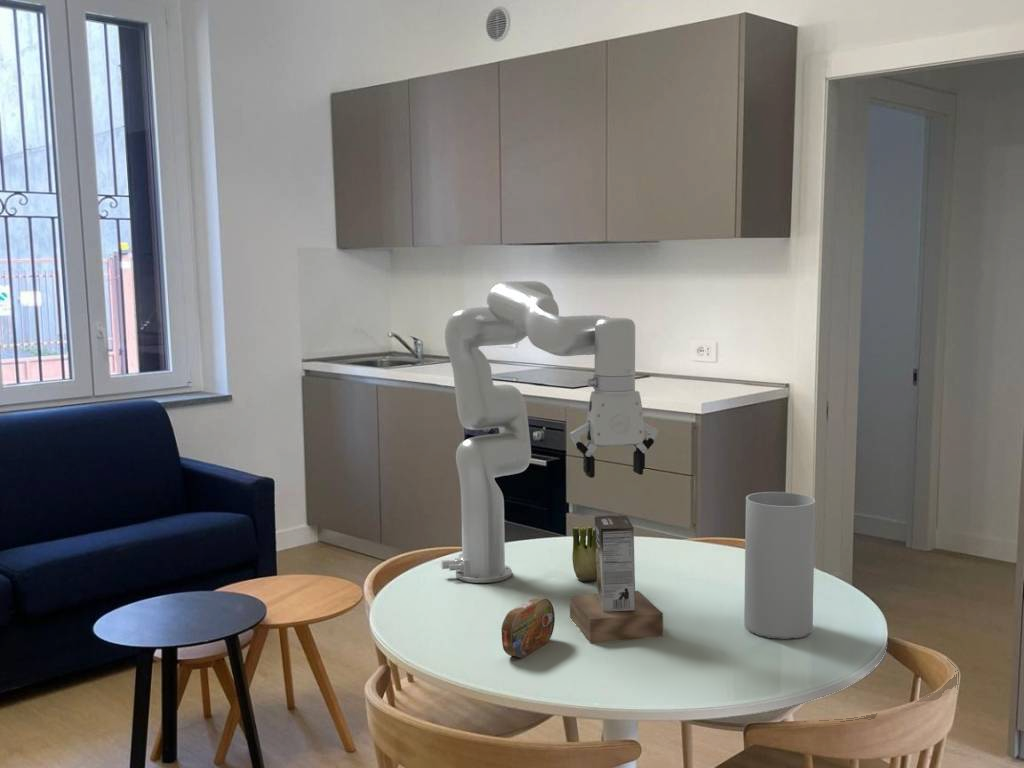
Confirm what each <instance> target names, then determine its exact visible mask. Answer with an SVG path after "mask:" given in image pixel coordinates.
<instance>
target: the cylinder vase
mask: <svg viewBox="0 0 1024 768" xmlns="http://www.w3.org/2000/svg"><path fill="white" fill-rule="evenodd" d="M815 526H816V499H815V498H814V497H812V496H809V495H806V494H802V493H801V494H800V493H795V492H788V491H787V492H785V491H764V492H756V493H749V494H748V495H746V496H745V532H744V533H745V536H744V537H745V539H744V540H745V543H744V601H743V602H744V603H743V604H744V606H743V607H744V608H743V609H744V612H743V614H744V617H743V623H744V626H745V628H746V629H747V630H748V631H750V632H751V633H752V634H754V633H755V634H754V635H757V636H760V637H763V636H765V637H764V638H768V637H770V638H769V639H774V638H780V639H779V640H791V639H790V638H795V639H799V638H798V637H800V638H803V636H804V637H806V636H808V635H809V634H810V633H811V632H812V630H813V624H814V623H813V621H814V582H815V581H814V579H815V577H814V575H815V573H814V572H815V570H814V569H815V534H816V533H815V529H816V527H815ZM788 638H789V639H788Z"/></svg>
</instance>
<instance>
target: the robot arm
mask: <svg viewBox="0 0 1024 768" xmlns="http://www.w3.org/2000/svg"><path fill="white" fill-rule="evenodd" d="M559 312H560V311H559V305H558V304H557V302H556V300H555V298H554V295H553V292H552V290H551V288H549V286H548V285H547V284H545V283H543V282H540V281H537V280H534V281H533V280H521V281H520V280H519V281H517V280H516V281H504V282H500V283H497V284H496V285H494V286H493V287H492V288H491V289H490V290H489V291H488V294H487V297H486V306H485V307H484V306H483V307H482V306H479V307H478V306H477V307H469V308H463V309H460V310H457V311H456V312H454V313H452V315H451V316H450V317H449V318H448V320H447V322H446V324H445V325H446V326H445V329H444V342H445V347H446V348H445V349H446V352H447V355H448V357H449V360H450V363H451V364H450V365H451V367H452V373H453V381H454V382H453V383H454V393H455V400H456V402H455V403H456V409H457V415H458V416H457V417H458V419H459V422H460V425H461V426H462V427H463V428H464V429H467V430H471V431H478V430H479V431H480V430H487V429H488V430H489V429H490V430H491V429H497V428H498V432H499V433H494V434H493V433H492V434H484V435H476V436H473V437H469V438H467V439H465V440H463V441H462V442H460V444H459V445H458V447H457V449H456V452H455V462H456V467H457V473H458V477H459V478H458V479H459V485H460V503H461V504H460V506H461V507H460V508H461V549H462V550H461V551H462V552H461V553H459V554H458V557H456V558H454V559H445V560H441V562H440V564H441V565H440V566H441V567H440V568H441V570H449V572H450V571H455V577H456V578H457V579H459V580H460V581H463V582H467V583H473V584H474V583H475V584H488V583H489V584H490V583H491V584H492V583H497V582H502V581H506V580H508V579H509V578H510V577H511V576H512V574H513V572H512V568H511V567H509V566H508V565H506V559H505V557H506V555H505V553H506V552H505V551H506V549H505V548H506V547H505V543H506V542H505V499H504V494H503V492H502V490H501V488H500V486H499V485H498V483H497V482H496V480H495V478H500V477H503V476H510V475H516V474H520V473H523V472H525V470H527V468H528V467H529V465H530V464H531V459H532V445H531V437H530V426H529V419H528V418H529V417H528V411H527V405H526V401H525V398H524V396H523V394H522V393H521V391H520V390H519V389H518V388H517V387H516V386H514V385H511V384H498V385H495V384H494V382H493V374H492V373H493V371H492V367H491V364H490V362H489V360H488V359H487V357H486V355H485V353H483V352H482V350H480V349H479V347H491V346H493V347H494V346H505V345H508V346H509V345H514V344H517V343H519V342H521V341H522V340H524V339H525V338H528V340H529V342H530V343H531V344H532V346H534V347H535V348H538V349H539V350H542V351H543V352H546V353H548V354H551V355H554V356H559V357H573V356H591V355H592V356H593V355H594V374H593V377H592V378H588V379H587V381H586V382H587V386H588V387H591V388H593V390H594V391H593V390H592V391H591V392H590V398H589V401H588V408H587V417H586V423H584V424H582V425H581V426H579V427H577V428H576V429H573V431H571V432H570V433H569V437H570V439H571V441H572V442H573V445H574V447H575V448H576V449H577V450H578V451H579V452H580V453H581V455H583V465H582V466H583V469H582V470H583V472H584V473H585V476H586V477H589V478H592V479H594V477H595V475H596V473H595V471H596V469H595V467H596V466H595V465H596V464H595V463H596V461H595V460H596V459H595V456H594V455H593V454H594V453H595V451H596V450H597V448H598V447H600V448H606V447H607V448H609V447H625V446H626V447H629V446H633V447H634V448H635V450H634V451H633V454H632V456H633V459H632V461H633V463H632V467H633V468H632V469H633V470H632V471H633V472H634V473H636V474H637V475H639V476H641V475H643V474H644V470H645V468H646V454H647V453H648V450H650V448H651V446H652V445H653V444H655V443H654V442H655V440H656V438H657V436H658V433H659V429H658V428H656V427H654V425H653V426H652V425H650V424H649V423H647V422H645V421H644V412H643V405H642V400H641V394H640V391H638V390H636V324H635V322H634V320H633V319H632V318H631V319H630V318H627V317H610V316H605V315H601V314H600V315H599V314H597V315H596V314H593V315H592V314H591V315H584V314H583V315H569V316H568V315H567V316H566V315H565V316H560V315H559ZM645 431H646V432H647V435H646V437H645ZM585 434H586V443H585V444H584V443H583V442H582V441H581V436H583V435H585Z"/></svg>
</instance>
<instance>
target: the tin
mask: <svg viewBox="0 0 1024 768" xmlns="http://www.w3.org/2000/svg"><path fill="white" fill-rule="evenodd" d="M555 616H556V615H555V608H554V606H553V603H552V602H551V601H550V600H549V599H547V598H536V597H535V598H531V599H529V600H527V601H526V602H524V603H522V604H520V605H519V606H517V607H515V608H513V609H512V610H510V611H509V612H507V614H506V615H505V617H504V619H503V621H502V624H501V645H502V648H503V651H504V652H505V653H506V655H508V656H509V657H510V656H511V657H517V658H520V659H523V658H526V657H528V656H529V655H531V654H532V653H534V652H535V651H538V649H540V648H541V647H543V646H544V645H546V644H547V643H549V641H550V640H551V637H552V635H553V632H554V628H555V622H556V621H555V620H556V619H555Z"/></svg>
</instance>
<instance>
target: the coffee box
mask: <svg viewBox="0 0 1024 768" xmlns="http://www.w3.org/2000/svg"><path fill="white" fill-rule="evenodd" d="M594 526H595V527H594V528H595V536H596V562H597V579H596V582H597V583H596V585H597V586H596V587H597V594H598V599H599V601H600V604H601V607H602V610H603V612H612V611H634V610H635V591H636V577H635V575H636V568H635V532H634V531H635V530H634V529H635V527H634V526H633V523H631V520H630V518H628V515H597V516H594Z"/></svg>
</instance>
